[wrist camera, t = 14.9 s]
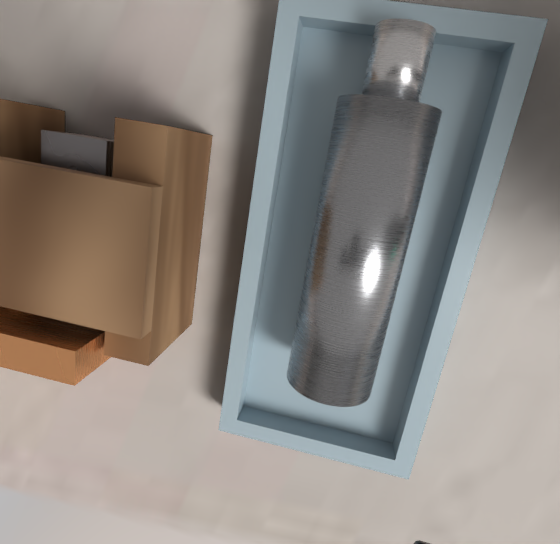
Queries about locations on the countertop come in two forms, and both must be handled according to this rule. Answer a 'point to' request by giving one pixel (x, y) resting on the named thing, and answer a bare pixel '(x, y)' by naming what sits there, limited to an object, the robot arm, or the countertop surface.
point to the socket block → (103, 231)
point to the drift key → (46, 331)
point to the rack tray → (425, 235)
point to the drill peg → (365, 218)
